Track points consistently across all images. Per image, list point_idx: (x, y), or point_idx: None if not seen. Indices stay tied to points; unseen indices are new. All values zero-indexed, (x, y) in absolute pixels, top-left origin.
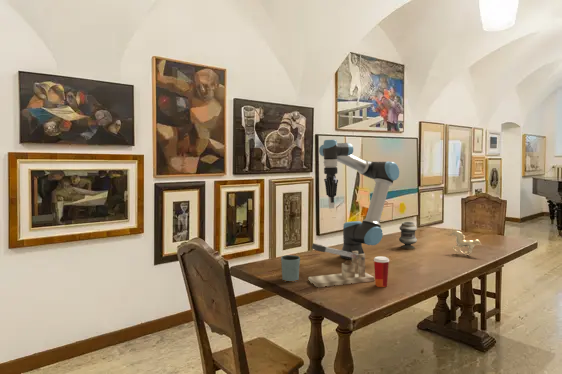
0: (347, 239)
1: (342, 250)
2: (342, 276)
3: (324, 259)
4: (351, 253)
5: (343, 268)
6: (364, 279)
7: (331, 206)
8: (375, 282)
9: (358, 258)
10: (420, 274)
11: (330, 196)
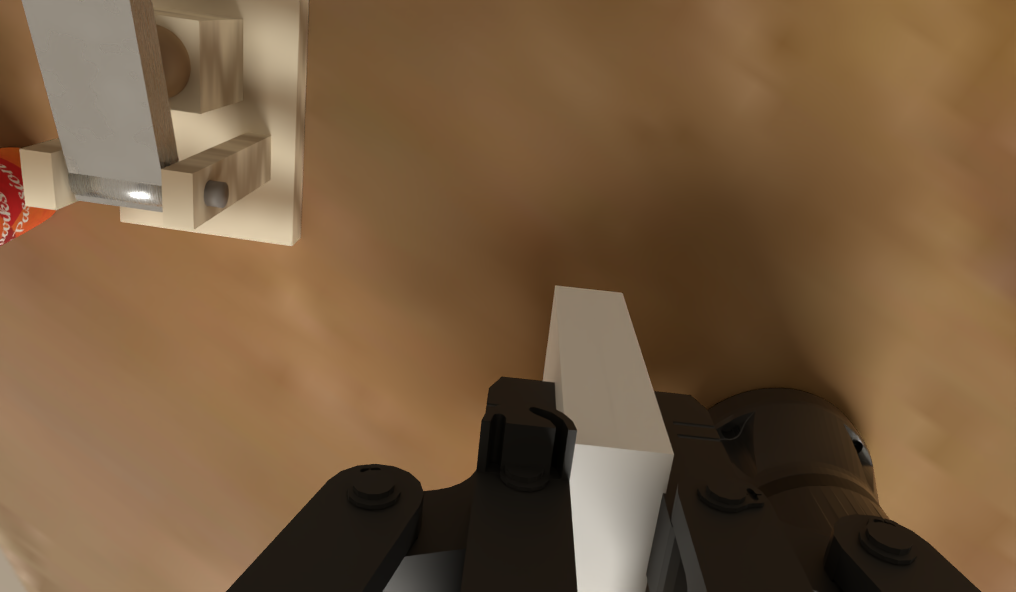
0: (799, 512)
1: (134, 33)
2: (214, 7)
3: (846, 240)
4: (45, 77)
5: (178, 14)
6: None
7: (550, 344)
8: (16, 153)
9: None
10: (171, 543)
11: (480, 443)
